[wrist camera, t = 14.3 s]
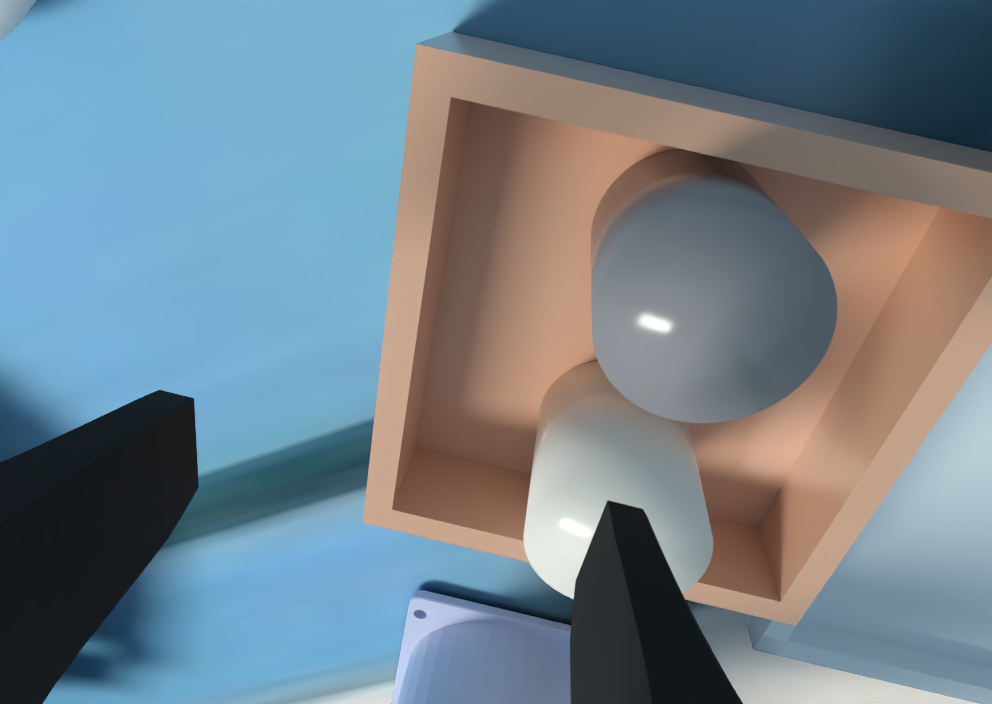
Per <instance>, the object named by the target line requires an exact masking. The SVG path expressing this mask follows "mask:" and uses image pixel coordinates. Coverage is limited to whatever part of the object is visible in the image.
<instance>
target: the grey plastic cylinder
mask: <svg viewBox="0 0 992 704" xmlns="http://www.w3.org/2000/svg"><path fill="white" fill-rule="evenodd" d="M591 310H592V338H593V345H594V349H595V354H596V357H597V359H598V362H599V364H600V367H601V368H602V370H603V372H604V373H605V375H606V377H607V378H608V380H609V381H610V382H611V383H612V385H613V386H614V387H615V388H616V389H617V390H618V391H619V392H620V393H621V394H622V395H623V396H624V397H625V398H627V399H628V400H629V401H631V402H632V403H634V404H635V405H637V406H638V407H640V408H642V409H644V410H646V411H648V412H650V413H653V414H655V415H658V416H660V417H664V418H667V419H671V420H676V421H681V422H689V423H717V422H724V421H731V420H735V419H739V418H743V417H746V416H749V415H752V414H755V413H757V412H760V411H762V410H764V409H766V408H768V407H770V406H773V405H774V404H776V403H778V402H779V401H781V400H782V399H784V398H786V397H787V396H788V395H790V394H791V393H792V392H793V391H795V390H796V389H797V388H799V387H800V386H801V385H802V384H803V383H804V382H805V381H806V380H807V379H808V378H809V377H810V375H811V374H812V373H813V372H814V370H815V369H816V368H817V367H818V365H819V364H820V362H821V360H822V359H823V357H824V356H825V354H826V352H827V350H828V347H829V345H830V343H831V341H832V338H833V334H834V330H835V327H836V320H837V312H838V311H837V295H836V290H835V285H834V282H833V279H832V276H831V274H830V271H829V269H828V267H827V266H826V264H825V262H824V261H823V259H822V257H821V256H820V255H819V254H818V252H817V251H816V250H815V249H814V248H813V246H812V245H811V244H810V243H809V242H808V241H807V239H806V238H805V237H804V236H803V235H802V234H801V233H800V231H799V230H798V229H797V228H796V227H795V226H794V224H793V223H792V222H791V221H790V220H789V219H788V217H787V216H786V215H785V214H784V213H783V212H782V210H781V209H780V208H779V207H778V206H777V205H776V203H775V202H774V201H773V200H772V199H771V198H770V197H769V195H768V194H767V193H766V192H765V191H764V190H763V188H762V187H761V186H760V185H759V184H758V183H757V181H756V180H755V179H754V178H753V177H752V176H751V174H750V173H749V172H748V171H746V170H745V169H744V168H743V167H742V166H741V165H739V164H738V163H736V162H735V161H733V160H728V159H724V158H720V157H715V156H711V155H706V154H702V153H697V152H693V151H688V150H684V149H675V150H669V151H665V152H661V153H657V154H655V155H652V156H650V157H647V158H645V159H643V160H641V161H639V162H638V163H636V164H634V165H633V166H631V167H630V168H629V169H627V170H626V171H625V172H623V173H622V174H621V175H620V176H619V177H618V178H617V179H616V180H615V181H614V182H613V183H612V185H611V186H610V187H609V188H608V190H607V191H606V193H605V194H604V196H603V197H602V199H601V201H600V203H599V205H598V207H597V209H596V212H595V215H594V218H593V223H592V228H591Z"/></svg>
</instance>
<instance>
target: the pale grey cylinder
mask: <svg viewBox="0 0 992 704" xmlns="http://www.w3.org/2000/svg"><path fill="white" fill-rule="evenodd" d="M607 500H609V501H613V502H617V503H621V504H625V505H629V506H633V507H637V508H641V509H643V510H644V512H645V513H646V515H647V517H648V519H649V522H650V524H651V526H652V528H653V531H654V533H655V535H656V538H657V540H658V542H659V544H660V547H661V549H662V551H663V553H664V556H665V558H666V560H667V562H668V564H669V567H670V569H671V571H672V573H673V575H674V577H675V579H676V582H677V584H678V586H679V588H680V590H681V592H682V593H684V592H685V591H686V590H688V589H689V588H691V587H692V586H693V585H694V584H695V583H696V582H697V581H698V580H699V579H700V578H701V577H702V575H703V574H704V573H705V571H706V569H707V568H708V566H709V563H710V561H711V558H712V553H713V536H712V531H711V526H710V522H709V517H708V512H707V508H706V503H705V498H704V494H703V489H702V484H701V479H700V475H699V470H698V465H697V461H696V456H695V451H694V447H693V442H692V437H691V432H690V428H689V423H688V422H681V421H676V420H671V419H667V418H664V417H660V416H658V415H655V414H653V413H650V412H648V411H646V410H644V409H642V408H640V407H638V406H637V405H635V404H634V403H632V402H631V401H629V400H628V399H627V398H625V397H624V396H623V395H622V394H621V393H620V392H619V391H618V390H617V389H616V388H615V387H614V386H613V385H612V383H611V382H610V381H609V380H608V378H607V377H606V375H605V373H604V372H603V370H602V368H601V367H600V364H599V362H598V360H595V361H590V362H587V363H584V364H581V365H578V366H576V367H574V368H572V369H570V370H569V371H567V372H565V373H564V374H563V375H561V376H560V377H559V378H558V379H556V381H555V382H554V383H553V384H552V385H551V386H550V387H549V389H548V390H547V392H546V393H545V395H544V397H543V400H542V403H541V406H540V411H539V418H538V426H537V434H536V442H535V450H534V457H533V465H532V473H531V481H530V488H529V496H528V504H527V512H526V519H525V527H524V535H523V537H524V548H525V553H526V555H527V558H528V560H529V562H530V564H531V566H532V567H533V569H534V570H535V571H536V573H537V574H538V575H539V576H540V577H541V578H542V579H543V580H544V581H545V582H546V583H547V584H548V585H550V586H551V587H552V588H554V589H555V590H557V591H558V592H560V593H562V594H563V595H565V596H567V597H570V598H572V599H574V591H575V581H576V578H577V576H578V573H579V571H580V568H581V566H582V563H583V561H584V558H585V556H586V553H587V551H588V548H589V545H590V543H591V540H592V538H593V535H594V533H595V530H596V528H597V525H598V523H599V520H600V518H601V515H602V513H603V510H604V508H605V505H606V503H607Z"/></svg>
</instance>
